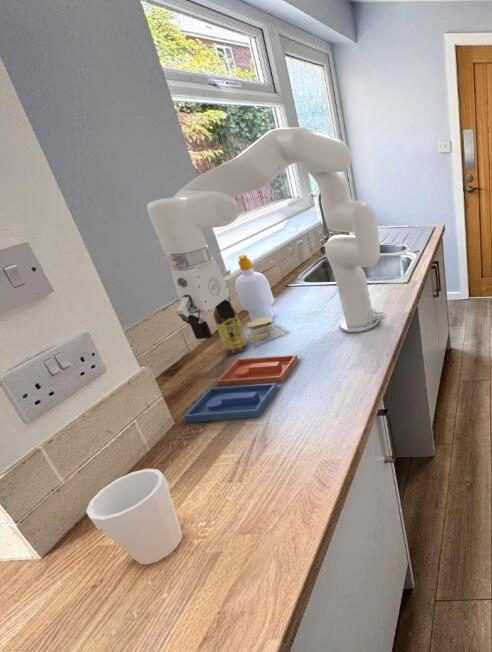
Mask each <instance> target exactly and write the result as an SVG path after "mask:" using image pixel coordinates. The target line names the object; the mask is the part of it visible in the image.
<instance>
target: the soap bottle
mask: <svg viewBox="0 0 492 652" xmlns="http://www.w3.org/2000/svg"><path fill="white" fill-rule="evenodd" d="M238 259H239V260H238V262H237V263H238V266H239V268H240V272H241V274H240V275H239V276H238V277H237V278H236V279H235V282H234V287H235V291H236V294H237V296H238V299H239V302H240V305H241V307H242V309H243V311H246V312H248V314H249V318H250V320H251V322H252V321H254V320H256V319H259V318H262V317H268V318H273V319H274V317H275V313H274V309H273V307H272V305H273V304H274V302H275V299H274V295H273V292H272V289H271V286H270V283H269V280H268V278H267V277H266V276H265V275H264V274H263V273H261V272H258V271H255V270H254V268H253V264H252V261H251V259H250V258H248V255H247V254H241V255H239V256H238Z"/></svg>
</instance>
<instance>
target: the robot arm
mask: <svg viewBox="0 0 492 652" xmlns="http://www.w3.org/2000/svg"><path fill="white" fill-rule="evenodd" d="M352 162H353V154H352V151H351V148H350V147H349V146H348V145H347V143H345V142H344V141H342V140H341V139H338V138H336V137H333V136H330V135H327V134H325V133H321V132H318V131H315V130H312V129H310V128H309V129H308V128H306V127H279V128H274V129H271V130H269V131H267V132H266V133H265V134H263V135H262V136H260V137H259V139H257V140H256V141H254V142H253V143H252V144H251V145H249V146H248V147H247V148H246V149H245V150H243V151H242V152H241V153H240V154H238V155H237V156H236V157H234V158H231V159H229V160H227V161H225V162H223V163H221V164H219V165H217V166H215V167H213V168H211V169H209V170H207V171H205V172H203V173H201V174H200V175H198V176H197V177H195V178H193V179H192V180H191V181H189V182H188V183H187V184H186V185H184V186H183V187H182V188H180V189H179V190H178V191H177V193H175V194H174V196H173V197H167V198H166V197H165V198H160V199H155V200H152V201H149V203H147V205H146V211H147V215H148V217H149V220H150V221H151V224H152V226H153V228H154V231H155V233H156V236H157V238H158V241H159V243H160V245H161V248H162V250H163V253H164V255H165V257H166V260H167V262H168V265H169V267H170V269H171V275H172V279H173V284H174V287H175V291H176V293H177V296H178V299H179V301H180V304H179V306H178V308H177V310H176V315H177V316H178V317H180V318H181V320H182V321H183V322H185V323H186V324H187V325H190V327H191V330H192V332H193V334H194V337H195V339H197V340H203V339H205V340H206V339H211V338H212V337H213V334H212V332H211V329H210V327H209V324H208V322H207V320H205V312H210V311H212V310H213V309H215V307H217V310H218V312H219V315H220V317H221V319H229V318H234V317H235V314H234V311H233V309H234V307H233V306H232V304H231V301H232V298H231V297H230V293H231V291H230V284H229V280H228V279H225V277H224V275H223V273H222V271H221V269H220V267H219V265H218V263H217V261H216V260H215V259H214V256H212V255H211V252H210V249H209V247H208V246H209V245H208V244H207V241H206V238H205V235H204V233H203V230H205V229H213V228H222V227H226V226H229V225H231V224H232V223H234V222H235V221H236V220H237V219H238V217H239V214H240V207H239V204H238V202H237V200H235V199H234V197H236V196H239V195H243V194H246V193H252V192H255V191H259V190H261V189H264V188H266V187H267V186H269V185H270V184H271V183H272V182H273V181H274V180H275V179H276V178H277V177H279V175H280V174H281V173H283V172H284V171H285V170H286V169H287V168H288V167H290V166H291V165H293V164H297V165H298V166H299V167H300V168H301V169H303V170H304V171H305V172H306V173H308V174H309V175H310V176H311V177H312V178H313V179H314V180H315V182H316V184H317V186H318V189H319V193H320V198H321V204H322V205H321V206H322V211H323V217H324V221H325V224H326V226H327V228H329V230H332V231H336V232H343V233H345V232H346V233H353V234H354V235H349V234H336V235H333V236H331V237H330V238H329V239H327V241H326V243H325V246H324V251H325V256H326V259H327V261H328V263H329V265H330V267H331V270H332V273H333V275H334V280H335V284H336V288H337V289H336V290H337V292H338V298H339V302H340V305H341V310H342V315H343V318H344V319H343V320H342V321H341V323H340V326H341V330H343V331H345V332H348V333H360V332H364V331H368V330H370V329H372V328H374V327H376V326H377V325H378V324H379V322H380V320H386V319H387V317H386V316H387V315H386V313H385V312H384V311H376V309H375V307H373V306H372V302H371V297H370V292H369V288H368V282H367V277H366V273H365V271H364V269H363V268H371V267H375V266H376V265H377V264H378V263H379V260H380V256H381V244H380V236H379V235H380V234H379V229H378V219H377V216H376V212H375V210H374V208H373V207H372V206H371V205H370V203H368V202H366V201H364V200H363V201H362V200H353V199H352V195H351V190H350V185H349V182H348V179H347V177H346V175H345V174H344V172H345V171H347V170H348V169H349V168H350V166H351V165H352ZM232 307H233V308H232ZM195 314H197V316H196V315H195Z"/></svg>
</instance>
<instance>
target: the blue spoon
mask: <svg viewBox="0 0 492 652" xmlns="http://www.w3.org/2000/svg"><path fill="white" fill-rule="evenodd" d="M259 400H260V398H259V395H258V392H245V393H232V394H225V395H224V396H217V397H214V398H212V399H211V400H209V401H208V402H207V407H208V409H209V410H218V409H220V408H222V407H229V406H242V405H256V404H257V402H258V401H259Z"/></svg>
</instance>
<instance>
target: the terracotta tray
mask: <svg viewBox="0 0 492 652" xmlns="http://www.w3.org/2000/svg"><path fill="white" fill-rule="evenodd" d="M298 361H299V358H298V355H297V354H289V355H275V356H263V357H262V356H261V357H250V358H248V357H247V358H237V359H236V360H235V361H234V362H233V364H232V365H230V367H229V368H228V369H227V370H226V371H225V372H224V373H223V374H222V375H221V376H220V377H219V378H218V379H217V380H216V384H217V387H229V386H242V385H256V384H269V383H276V384H282V383H284V381H285V380H286V379H287V378H288V375H290V373H291V372H292V370H293V369H294V367H295V366H296V364H297V363H298ZM266 362H280V363H281V366H282V369H281V371H280V372H279V373H268V374H254V375H249V376H246V377H242V378H239V377H237V376H236V374H235V371H236V370H237V369H238V368H240V367H243V366H247V365H251V364H252V363H266Z"/></svg>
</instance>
